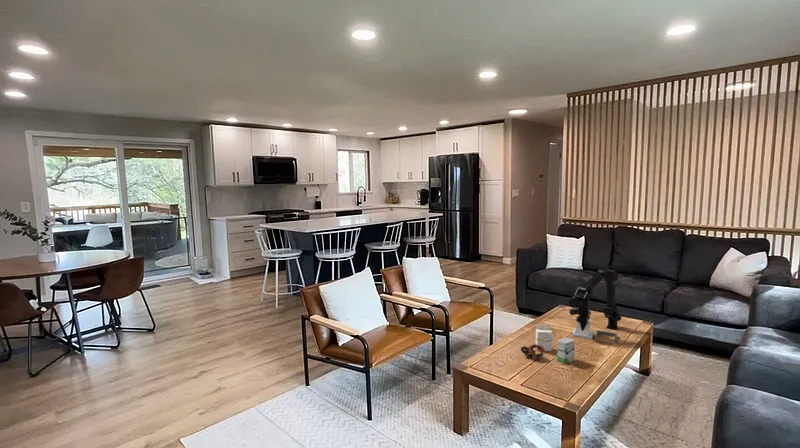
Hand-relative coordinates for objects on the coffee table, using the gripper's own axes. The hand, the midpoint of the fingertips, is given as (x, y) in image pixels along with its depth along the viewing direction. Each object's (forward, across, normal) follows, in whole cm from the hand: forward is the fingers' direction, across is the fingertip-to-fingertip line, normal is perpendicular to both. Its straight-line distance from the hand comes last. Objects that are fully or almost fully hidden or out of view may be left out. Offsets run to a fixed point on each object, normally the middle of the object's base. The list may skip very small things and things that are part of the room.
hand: (583, 328), depth 260 cm
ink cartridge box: (+4, +35, -17) cm, 39 cm away
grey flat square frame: (+4, -2, +13) cm, 14 cm away
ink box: (+4, +44, -3) cm, 44 cm away
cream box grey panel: (+4, 0, 0) cm, 4 cm away
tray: (+4, 0, 0) cm, 4 cm away
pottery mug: (+4, +48, -20) cm, 53 cm away
